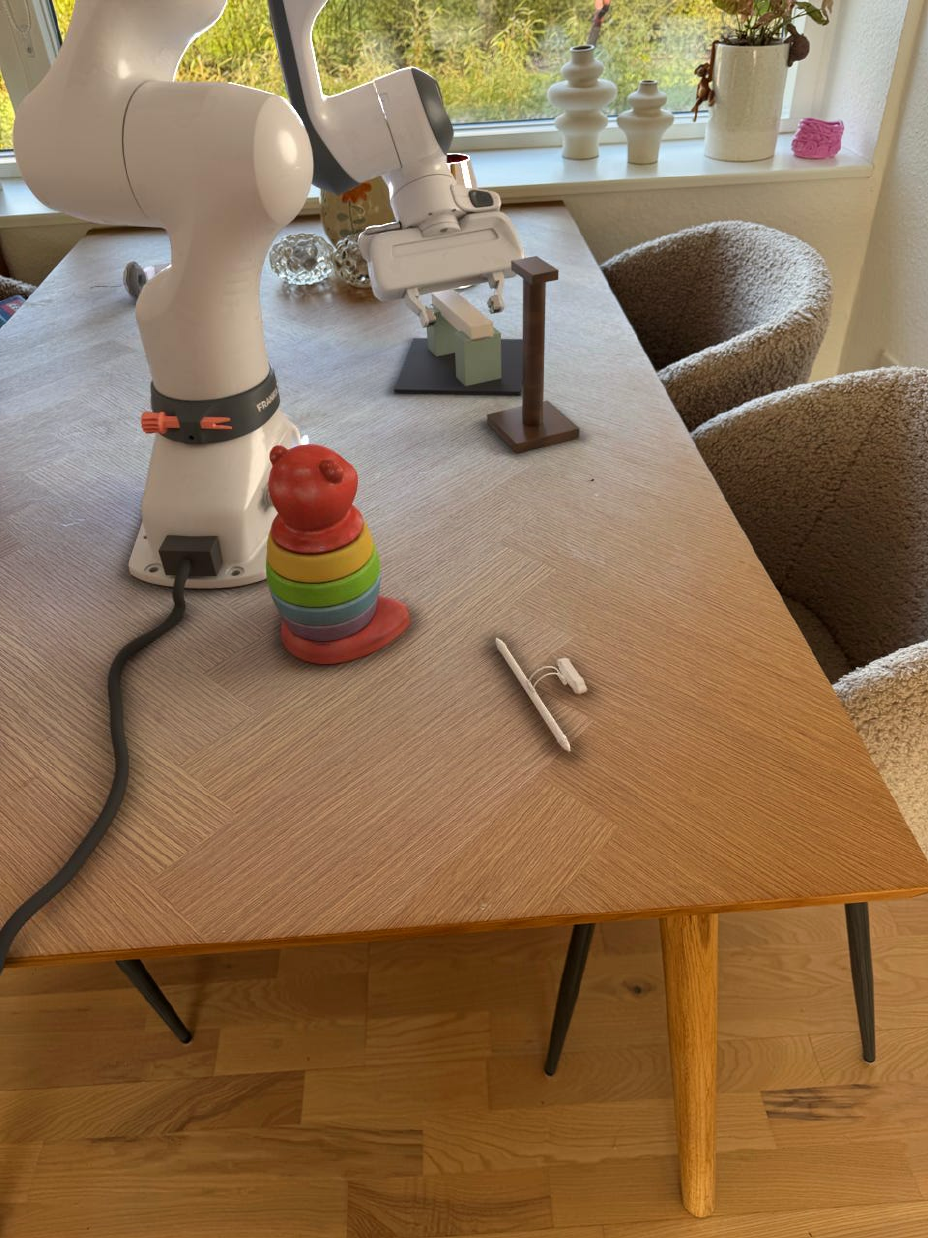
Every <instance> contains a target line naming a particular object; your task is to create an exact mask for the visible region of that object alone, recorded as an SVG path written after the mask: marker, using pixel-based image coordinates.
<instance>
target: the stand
mask: <svg viewBox="0 0 928 1238" xmlns="http://www.w3.org/2000/svg"><path fill="white" fill-rule="evenodd" d="M511 270H512V271H513V272H515V273H516V274H517V276H519V277H521V278H522V339H523V369H522V389H521V396H522V397H521V398H522V399H521V400H522V403H521V406H517V407H513V408H509V409H505V410H500V411H497V412H492V413H488V414H487V415H486V423H487V425H488V426H489V427H490V428H491V429H492V430H493V431H494V432H495V433H496V434H497V435H498V436H499V437H500V438H501V439H502V440H503V441H504V442H505V443H506V444H507V446H509V448H510V449H511V450H513V451H514V453H516V454H520V453H524V452H526V451H527V452H528V451H532V450H536V449H541V448H544V447H547V446H552V445H556V444H559V443H563V442H567V441H572V440H575V439H579V438H580V431H581V430H580V426H577V424H575V423H574V422H573V421H572V420H571V419H569V418H568V417H567V416H566V415H565V414H564V413H562V411H561V410H559V409H558V408H557V407H556V406H555V405H554V404H552V403H551V402H550V401H549V400H548V399H547V400H544V397H545V396H544V392H545V386H544V385H545V345H546V344H545V343H546V296H547V294H546V292H547V283H549V282H554V281H559V269H558V268H556V267H554V266H553V265H551V264H550V263H548V262H547V261H545V260H543V259H542V258H541V257H539V256H537V255H535V256H530V257H525V258H523V259H518V260H512V261H511Z"/></svg>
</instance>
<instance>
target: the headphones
mask: <svg viewBox="0 0 928 1238" xmlns="http://www.w3.org/2000/svg"><path fill="white" fill-rule="evenodd" d="M170 265H171V262H167V263H162V264H161V263H159V264H154V265H149V266H146V267H144V268H143V267H142V266H141V265H139V264H138V263H137V262H136V261H133V260H132V261H129V262H128V263H126V266H125V268H124V270H123V273H122V284H121V285H120V287H122V286H124V289H125V291H126V292H127V293H128V295H129V297H130V298H131V299H132V300H134V301H137V299H138V297H139V294H140V292H141V290H142V288H143V287H144V285H145V284H146V283H147V282H148V281H149V280H150V279H151V278H152V277H153V276H155V275H156V274H157V273H159V272H160V271H162V270H163V269H165V268H166V267H168V266H170ZM99 287H100V288H101V287H102V288H108V286H106V285H105V286H103V285H96V286H91V287H90V288H89V290H90V291H91V290H92V289H93V288H99ZM117 287H119V285H115V286H111V288H117Z"/></svg>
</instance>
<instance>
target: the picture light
mask: <svg viewBox="0 0 928 1238" xmlns="http://www.w3.org/2000/svg"><path fill="white" fill-rule="evenodd" d="M494 639H495V646H496V648H497V650H498V651H499V652H500V654H501V655H502V657H503V658H504V660H505V661H506V663H507V664H508V666H509V667H510V669H511V671H512V672H513V674H514V675H515V677H516V678H517V680H518V682H519V683H520V685H521V686H522V687H523V689H524V691H525V692H526V694H527V695H528V697H529V698H530V700H531V702H532V703H533V705H534V706H535V708H536V709H537V711H538V713H539V714H540V716H541V717H542V719H543V720H544V722H545V724H546V725H547V726H548V728H549V729H550V732H551V733H552V734H553V736H554V737H555V739H556V741H557V743H558V744H559V746H561V748H562V749H564V750H565V751H567V752H568V753H570V752H571V745H570V742H569V741H568V740H569V739H568V738H567V736H566V735H565V734H564V732H563V731H562V729H561V728H560V726H559V725H558V723H557V722H556V720H555V719H554V717H553V716H552V714H551V712H550V711H549V710H548V708H547V707H546V705H545V704H544V702H543V701H542V699H541V697H540V696H539V694H538V693H537V691H536V689H535V687H536V685H537V684H538V683H539V682H540V681H541V680H542V679H543V678H545V677H548V676H551V675H557V677H558V678H559V680H560V682H561V683H562V685H563V686H567V685H568V686H569V687H571V689H572V691H573V692H574V693H575V694H577V695H581V694H584V693H588V688H587V685H586V682H585V680H584V678H583V677H582V676H581V675H580V674H579V672H578V671H577V669H576V668H575V667H574V665H573V664H572V662H571V661H570V659H569V658H566V657H562V658H559V659H556V665H557V667H558V668H557V667H555V666H552V665H545V666H542V667H540V668H538V669H537V670H535V671H534V672H533V673H531V675H530V676H529V678H527V676H526V674H525V673H524V672H523V670H522V669H521V667H520V665H519V664H518V663H517V661H516V659H515V657H514V656H513V655H512V654H511V652H510V650H509V649H508V647H507V645H506V644H505V642H503V640H501V639H500V638H498V637H495V638H494ZM548 668H549V669H554V670H555V671H556V672H549V673H546V674H544V675H542V676H540V677H539V678H538V679H537V680H536V681H535V683H534V684H532V683H531V680H532V678H533V677H534V675H536V674H537V673H538V672H539V671H542V670H544V669H548Z"/></svg>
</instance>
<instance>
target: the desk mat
mask: <svg viewBox="0 0 928 1238" xmlns="http://www.w3.org/2000/svg"><path fill="white" fill-rule="evenodd" d="M522 369H523V338H522V339H518V338H517V339H515V338H514V339H513V338H511V339H510V338H501V378H500V379H496V380H491V381H487V382H482V383H478V384H473V385H469V386H465V385H464V384H463V383H462V382H461V381H460V380H459V379H458V378H457V377H456V359H455V353H451V354H446V355H441V356H437V357H436V356H435V355H434V354H433V353H432V352H431V351H430V350H429V349H428V341H427V337H413V339H412V341H411V343H410V346H409V349H408V352H407V354H406V357H405V359H404V361H403V365H402V368H401V369H400V372H399V375H398V377H397V379H396V383H395V385H394V388H393V393H394V394H429V395H430V394H433V395H437V394H438V395H486V396H487V395H489V396H490V395H491V396H522Z"/></svg>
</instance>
